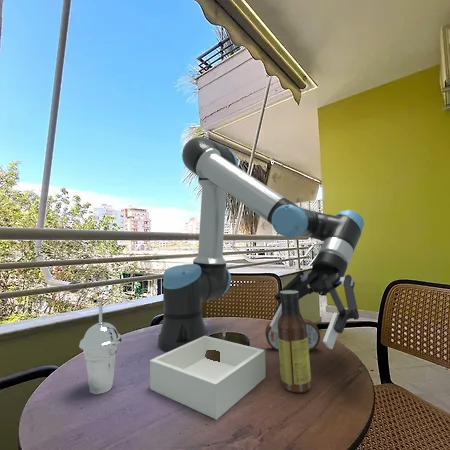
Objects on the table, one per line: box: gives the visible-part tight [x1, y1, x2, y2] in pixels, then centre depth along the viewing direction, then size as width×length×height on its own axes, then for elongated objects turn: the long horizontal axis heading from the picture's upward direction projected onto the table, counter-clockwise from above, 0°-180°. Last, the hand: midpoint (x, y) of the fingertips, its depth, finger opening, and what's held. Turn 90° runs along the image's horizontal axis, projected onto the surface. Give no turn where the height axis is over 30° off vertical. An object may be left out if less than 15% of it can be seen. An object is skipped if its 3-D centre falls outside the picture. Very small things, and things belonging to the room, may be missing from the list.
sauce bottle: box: [278, 290, 312, 394], centre depth 59 cm, size 7×6×20 cm
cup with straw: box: [78, 298, 123, 395], centre depth 60 cm, size 8×9×20 cm
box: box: [149, 335, 267, 421], centre depth 61 cm, size 18×18×6 cm
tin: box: [264, 318, 321, 352], centre depth 78 cm, size 15×3×8 cm, turn 84°
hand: (298, 336), depth 59 cm, fingers open, 13 cm apart
